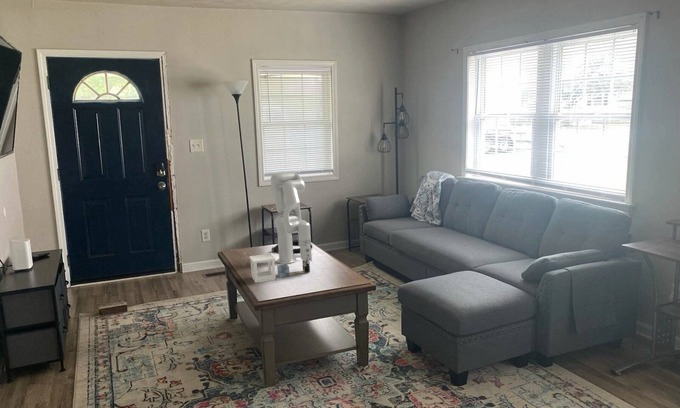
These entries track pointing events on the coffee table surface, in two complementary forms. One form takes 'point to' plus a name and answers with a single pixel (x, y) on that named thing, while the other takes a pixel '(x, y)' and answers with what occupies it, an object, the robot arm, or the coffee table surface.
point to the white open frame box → (262, 275)
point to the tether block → (287, 270)
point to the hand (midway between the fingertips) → (306, 270)
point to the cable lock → (275, 249)
